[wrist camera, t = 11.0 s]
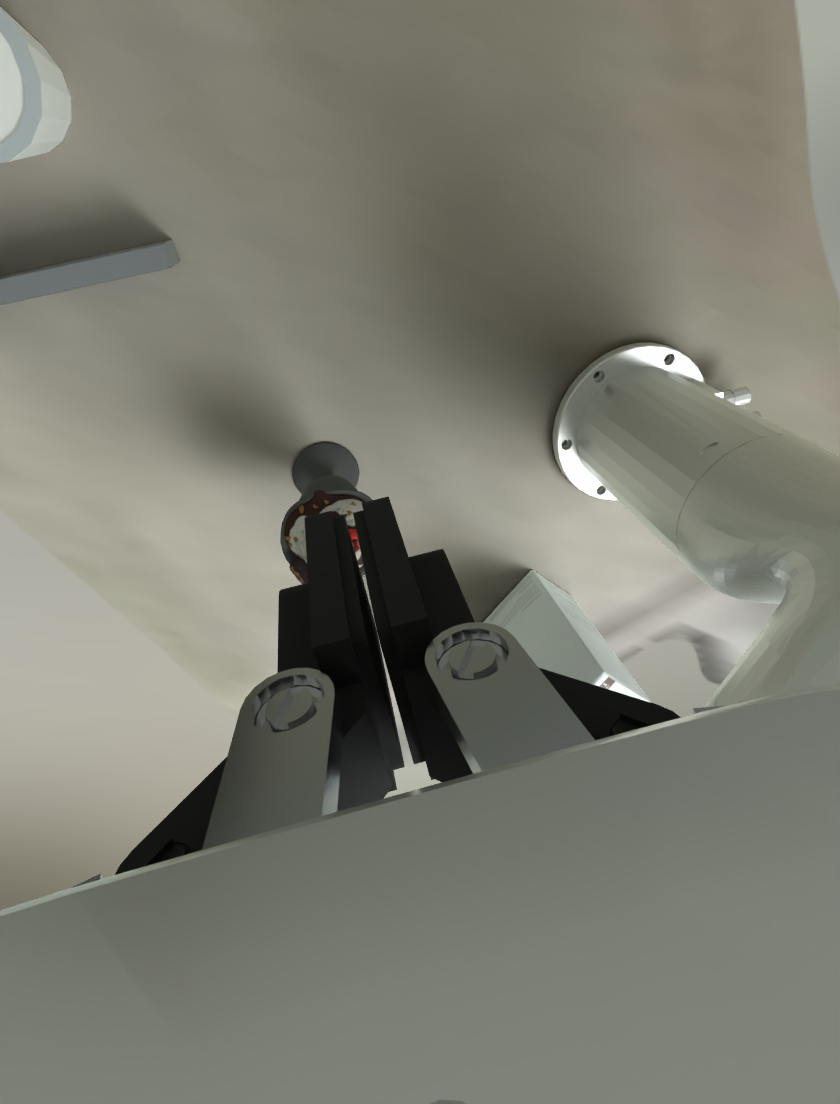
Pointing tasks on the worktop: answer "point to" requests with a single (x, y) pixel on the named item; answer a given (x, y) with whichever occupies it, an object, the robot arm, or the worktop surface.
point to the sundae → (321, 500)
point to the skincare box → (561, 635)
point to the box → (87, 271)
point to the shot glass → (29, 95)
